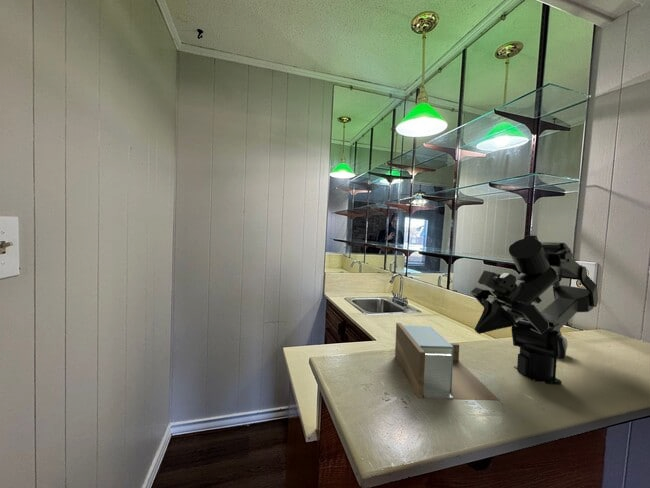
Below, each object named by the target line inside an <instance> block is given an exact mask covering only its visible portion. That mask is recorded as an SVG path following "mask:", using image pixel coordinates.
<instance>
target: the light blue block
mask: <svg viewBox="0 0 650 488" xmlns="http://www.w3.org/2000/svg"><path fill="white" fill-rule="evenodd" d="M402 325H403V324H402ZM403 327H404V328H405V329H406V330H407V331H408V333H409V334H410V335H411V336H412V337H413V338H414V340H415V341H416V342H417V343H418V344H419V346H420V347H421V348H422V349H423V350H424V352H425V353H443V354H451V355H452V360H451V380H450V390H452V371H453V350H454V347H453V346H452V345H451V344H450V343H451V342H449V341H448V340H447V339H446V338H444V336H443V335H441V334H440V333H439V332H438V331H436V330H435V328H433V327H432V326H431V325H405V324H404V325H403Z"/></svg>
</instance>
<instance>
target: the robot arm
mask: <svg viewBox="0 0 650 488" xmlns="http://www.w3.org/2000/svg"><path fill="white" fill-rule="evenodd" d="M508 253H509V254H510V257H511V258H512V261H513V263H514V265H515V267H516V270H517V271H518V272H520V273H519V274H518V275H517V276H516V275H513V274H512V273H508V272H503V273H502V274H500V273H497V272H493V271H489V270H483V272H482V273H481V275H480V277H479V279H478V280H477V283H478V284H480V285H484V286H485V287H487V288H490V289H491V290H489V289H486V288H483V287H477V286H475V287H474V288H473V289H472V290H471V291H470V294H471V295H472V297H474V299H475V300H476V301H477V302H478V303H479V304H480V305H481V306H482V307H483V311H482V314H481V315H480V318H479V320H478V321H477V323H476V326H474V327H475V328H474V331H475V332H476V333H477V334H478V335H481V334H485V333H489V332H494V331H497V330H500V329H507V328H511V338H512V345H513V346H514V347H519V353H518V354H517V364H516V365H517V366H513V368H514V369H515V370H517V371H518V372H519V373H520V374H522V375H523V376H525V377H527V378H528V379H530V380H531V381H532V382H539V383H540V382H542V383H546V384H552V385H553V384H559V385H562V384H563V383H562V380H560V379H559V378H557V377H556V375H557V374H556V373H557V362H558V360H560V359H561V360H565V359H566V357H567V355H566V354H567V350H566V344H565V342H564V339H563V337H562V336H563V334H562V332H561V329H562V328H563V327H564V326H565V325H566V324H567V323H568V322H569V321H570V319H572V318H573V317H574V316H575V315H576V314H577V313H589V312H590V311H592V310H594V308H596V307H597V306H598V302H599V294H598V285H597V284H596V282H594V281H593V279H592V278H590V276H589V275H588V271H587V267H586V266H583V265H582V264H580V263H578V262H577V261H576V260H574V259H573V257H574V254H573V252H572V250H571V248H570V247H569V246H568V244H567V243H565V242H559V241H558V242H557V241H555V242H553V241H547V242H546V241H540V240H539V238H538V235H532V234H529V235H525V236H524V238H522V239H518V240H516V241H514V242H513V243H512V244H510V246H509V247H508ZM563 279H569V280H576V281H577V280H578V281H580V284H581V285H583V287H578V286H577V287H576V286H571V285H563V284H562V285H561V284H560V282H561V281H562V280H563ZM551 287H552V291H553V297H554V300H553V301H552V302H551V303H550V304H548V305H547V306H546V307H545V308H544V309H542V310H541V311H540V310H539V309H538V308H537V306H536V305H534V304H533V303H536V304H540V303H541V302H542V301H543V300H542V299H541V298H540V296H542V295H543V294H544V293H545V292H546V291H547V290H548V289H549V288H551Z"/></svg>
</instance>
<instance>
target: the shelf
mask: <svg viewBox="0 0 650 488" xmlns="http://www.w3.org/2000/svg"><path fill="white" fill-rule="evenodd" d="M449 343H450V344H451V345H452V346H453V347H454V350H453V371H452V390H450V394H451V396H452V397H453V399H452V400H474V401H475V400H479V401H501V400H500V398H499V397H497V395H496V394H494V393H493V392H492V390H490V388H489V387H487V386H486V385H485V384H484V383H483V382H482V381H481V380H480V379H479V378H478V377H476V375H474V373H472V372H471V371H470V370H469V369H468V368H467V367H466V366H465V365H464V364H463V363H462V362H461V361H460V360H459V359H460V344H459V343H455V342H453V343H451V342H449ZM394 345H395V350H394V351H395V352H394V358H395V359H396V361H397V363H398V365H399V367H400V368H401V370H402V372H403V374H404V375H405V378H406V379H407V381H408V383H409V384H410V387H411V388H412V390H413V391H414V393H415V395H416V397H417V399H425V398H424V396H423V391H424V369H425V352H424V350H423V349H422V348H421V347H420V346H419V344H418V343H417V342H416V341H415V340H414V338H413V337H412V336H411V335H410V334H409V333H408V331H407V330H406V329H405V328H404V327H403V324H402V323H401V322H396V324H395V344H394ZM436 399H438V400H439V399H442V400H446V399H445V398H436Z"/></svg>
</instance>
